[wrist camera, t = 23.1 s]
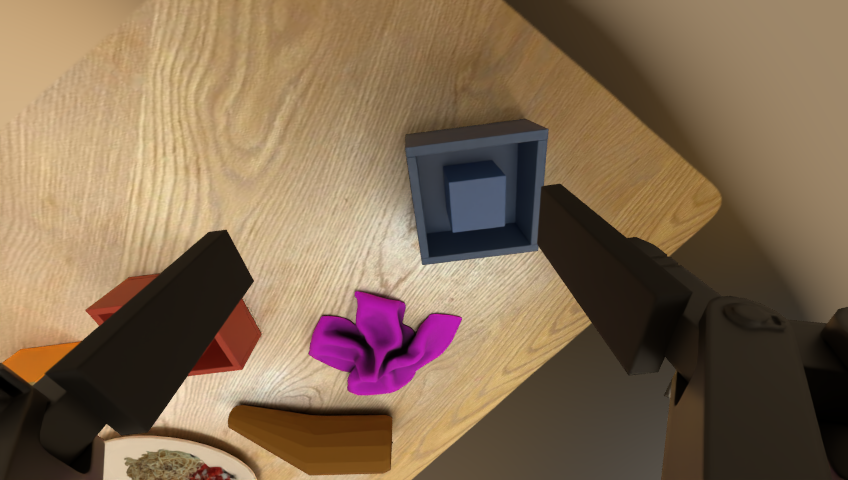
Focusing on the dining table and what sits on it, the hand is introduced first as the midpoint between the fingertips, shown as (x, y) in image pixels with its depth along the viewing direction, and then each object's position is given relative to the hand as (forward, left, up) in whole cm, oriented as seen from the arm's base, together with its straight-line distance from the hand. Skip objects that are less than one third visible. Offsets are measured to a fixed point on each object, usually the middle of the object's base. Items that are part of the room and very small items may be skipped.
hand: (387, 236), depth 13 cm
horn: (+43, -21, -19) cm, 52 cm away
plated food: (+55, -52, -19) cm, 78 cm away
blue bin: (+5, +6, -19) cm, 21 cm away
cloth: (+27, -7, -19) cm, 34 cm away
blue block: (+5, +6, -19) cm, 20 cm away
